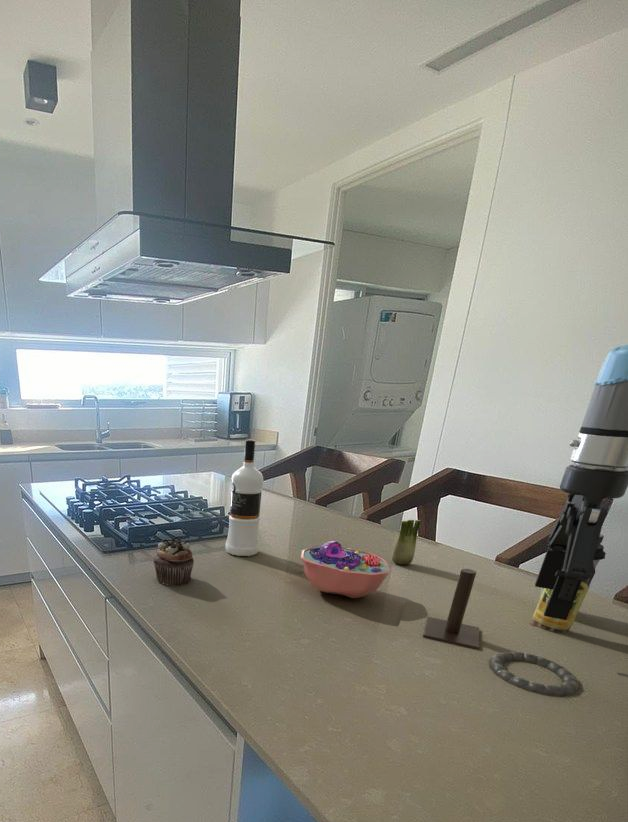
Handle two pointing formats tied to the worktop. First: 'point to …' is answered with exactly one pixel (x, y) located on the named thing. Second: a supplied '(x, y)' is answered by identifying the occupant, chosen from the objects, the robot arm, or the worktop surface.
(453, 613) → the post stand
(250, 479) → the vodka
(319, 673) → the worktop surface
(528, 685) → the ring
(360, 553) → the cell model
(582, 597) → the sauce bottle
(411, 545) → the fennel bulb
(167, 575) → the cupcake
